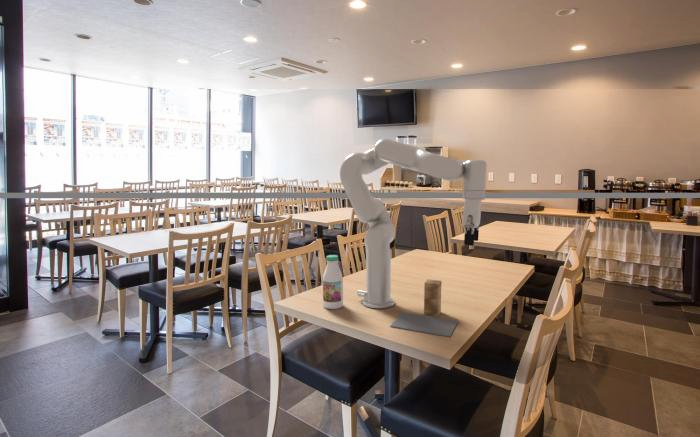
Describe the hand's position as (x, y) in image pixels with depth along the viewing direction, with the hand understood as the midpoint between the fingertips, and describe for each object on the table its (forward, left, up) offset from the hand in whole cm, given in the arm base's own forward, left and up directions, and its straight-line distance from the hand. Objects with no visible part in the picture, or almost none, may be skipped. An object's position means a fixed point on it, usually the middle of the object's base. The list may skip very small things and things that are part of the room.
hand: (471, 242), depth 142 cm
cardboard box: (-12, -6, -26) cm, 30 cm away
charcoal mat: (-12, -17, -26) cm, 34 cm away
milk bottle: (-49, -14, -27) cm, 58 cm away
